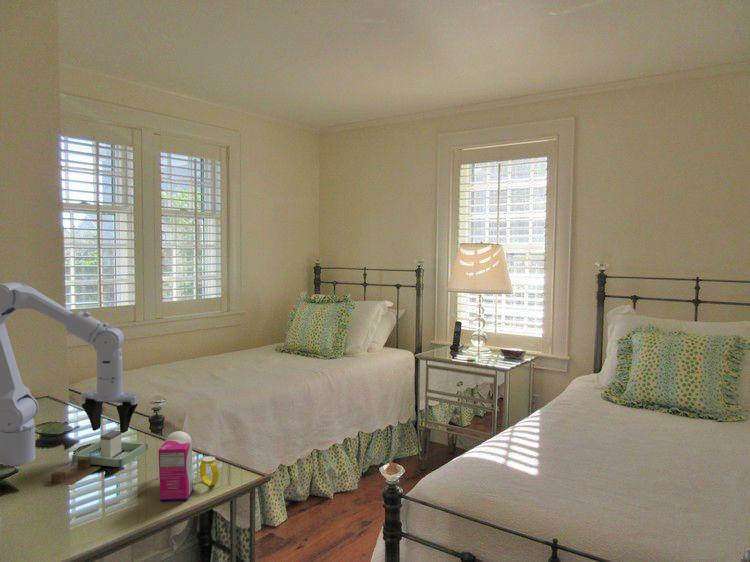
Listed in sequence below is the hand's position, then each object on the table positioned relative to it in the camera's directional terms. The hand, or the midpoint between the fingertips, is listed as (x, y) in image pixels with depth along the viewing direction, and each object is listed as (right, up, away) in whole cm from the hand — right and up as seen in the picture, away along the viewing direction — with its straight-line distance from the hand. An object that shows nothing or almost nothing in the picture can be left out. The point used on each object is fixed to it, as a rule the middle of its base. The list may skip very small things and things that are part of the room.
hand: (110, 430), depth 139 cm
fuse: (0, -7, +1) cm, 7 cm away
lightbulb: (+20, -9, -10) cm, 24 cm away
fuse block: (-4, -8, -10) cm, 14 cm away
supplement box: (+23, -9, -19) cm, 31 cm away
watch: (+28, -9, -12) cm, 32 cm away
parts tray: (0, -7, 0) cm, 7 cm away
